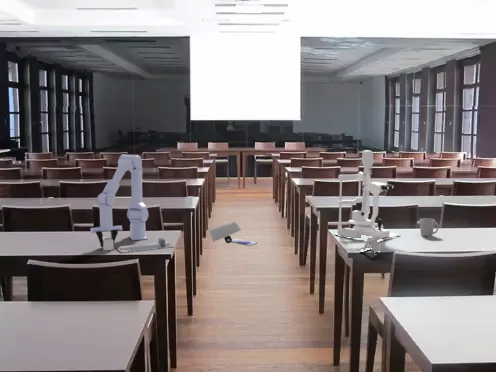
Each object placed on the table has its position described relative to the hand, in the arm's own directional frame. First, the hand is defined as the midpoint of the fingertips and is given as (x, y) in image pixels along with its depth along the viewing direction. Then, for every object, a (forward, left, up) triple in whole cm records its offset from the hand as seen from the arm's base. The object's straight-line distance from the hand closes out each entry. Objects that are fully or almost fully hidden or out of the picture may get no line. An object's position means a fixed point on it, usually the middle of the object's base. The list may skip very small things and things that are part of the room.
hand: (107, 246), depth 281 cm
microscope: (+29, +130, -2) cm, 133 cm away
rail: (+5, +17, -1) cm, 18 cm away
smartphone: (+15, +64, -2) cm, 66 cm away
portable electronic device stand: (+58, +111, -2) cm, 125 cm away
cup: (+43, +159, -2) cm, 165 cm away
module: (0, 0, -1) cm, 1 cm away
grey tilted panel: (+10, +50, +1) cm, 51 cm away
